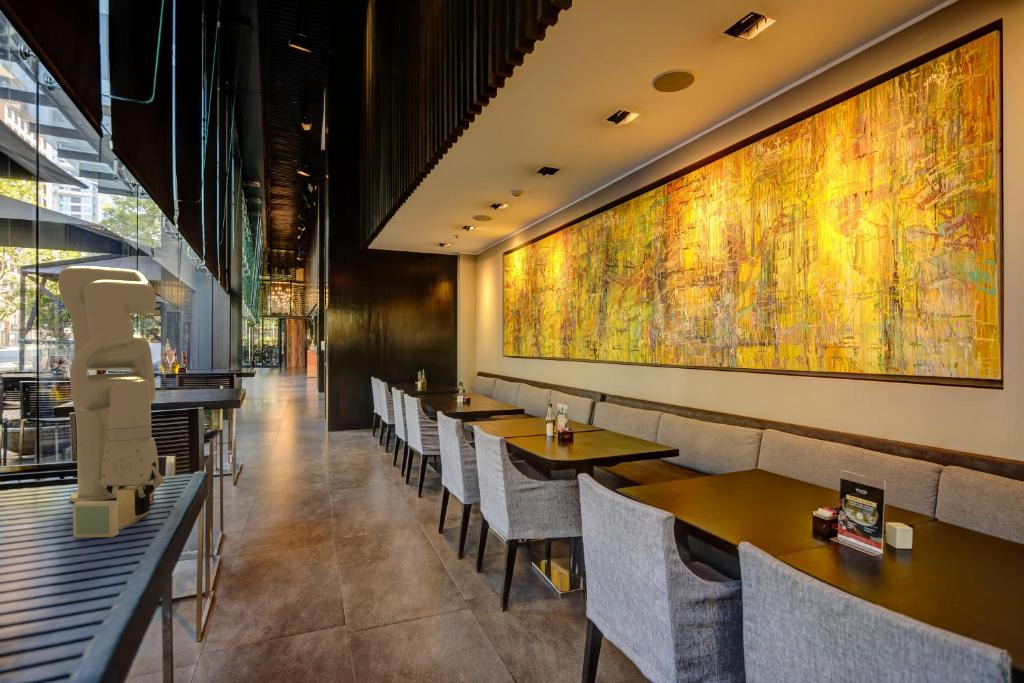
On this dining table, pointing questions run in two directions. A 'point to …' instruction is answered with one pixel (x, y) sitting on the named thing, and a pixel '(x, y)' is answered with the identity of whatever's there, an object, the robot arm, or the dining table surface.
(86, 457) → the robot arm
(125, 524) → the beige boxy piece
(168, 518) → the dining table surface
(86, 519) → the block
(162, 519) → the dining table surface
